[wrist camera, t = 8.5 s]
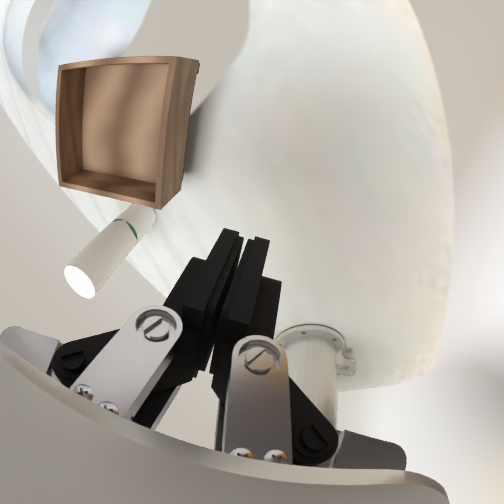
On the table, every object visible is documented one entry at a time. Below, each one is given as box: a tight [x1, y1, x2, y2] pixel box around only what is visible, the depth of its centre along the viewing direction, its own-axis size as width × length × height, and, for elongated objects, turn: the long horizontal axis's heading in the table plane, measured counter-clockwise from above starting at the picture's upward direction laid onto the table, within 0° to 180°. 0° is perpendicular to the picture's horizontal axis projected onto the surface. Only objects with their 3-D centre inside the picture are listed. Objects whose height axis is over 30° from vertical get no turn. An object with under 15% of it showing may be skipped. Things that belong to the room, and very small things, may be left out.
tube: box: [64, 203, 156, 298], centre depth 30 cm, size 4×4×15 cm
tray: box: [56, 56, 200, 210], centre depth 24 cm, size 14×14×9 cm
